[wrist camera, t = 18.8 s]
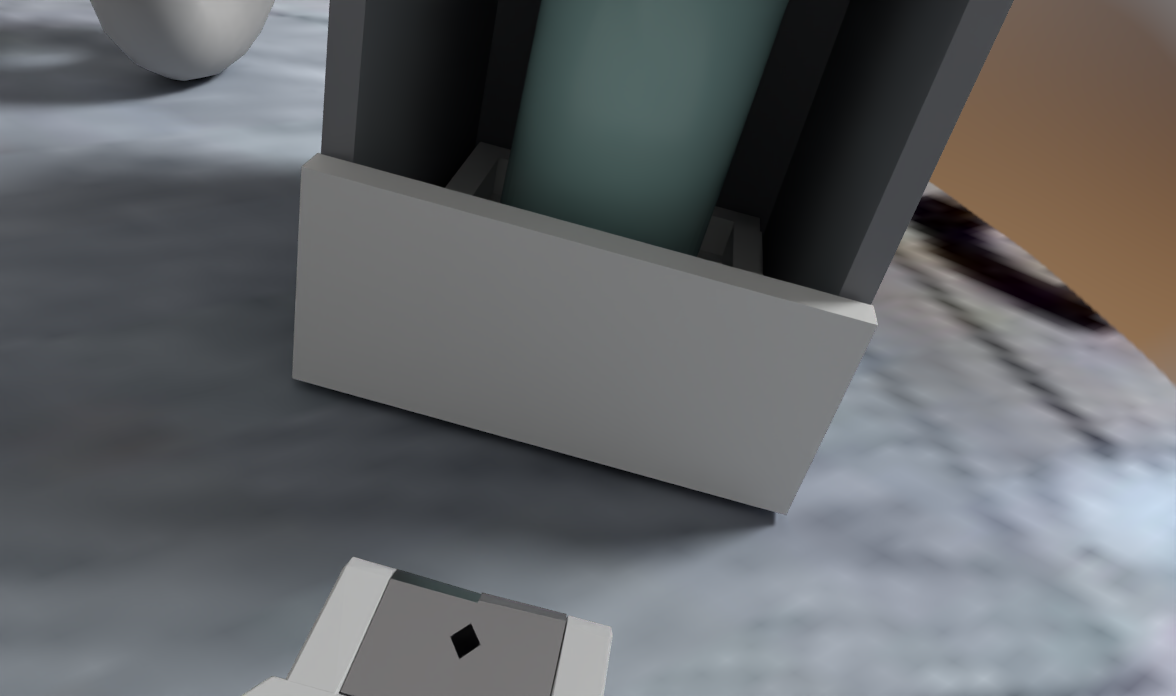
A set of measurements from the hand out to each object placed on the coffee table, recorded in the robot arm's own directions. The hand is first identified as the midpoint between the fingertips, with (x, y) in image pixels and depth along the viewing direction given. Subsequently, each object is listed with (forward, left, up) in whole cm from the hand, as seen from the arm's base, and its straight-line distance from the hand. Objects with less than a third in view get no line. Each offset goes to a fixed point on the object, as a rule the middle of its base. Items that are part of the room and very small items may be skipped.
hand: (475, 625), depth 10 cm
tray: (+12, +9, -5) cm, 16 cm away
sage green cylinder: (+12, +9, -4) cm, 15 cm away
